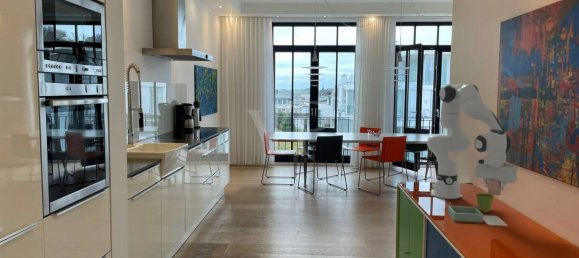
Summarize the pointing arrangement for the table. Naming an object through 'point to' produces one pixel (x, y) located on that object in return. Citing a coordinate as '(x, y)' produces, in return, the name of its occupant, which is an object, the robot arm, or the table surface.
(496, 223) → the mat
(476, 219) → the frame
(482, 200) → the plant pot
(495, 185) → the seedling pot
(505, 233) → the table surface
